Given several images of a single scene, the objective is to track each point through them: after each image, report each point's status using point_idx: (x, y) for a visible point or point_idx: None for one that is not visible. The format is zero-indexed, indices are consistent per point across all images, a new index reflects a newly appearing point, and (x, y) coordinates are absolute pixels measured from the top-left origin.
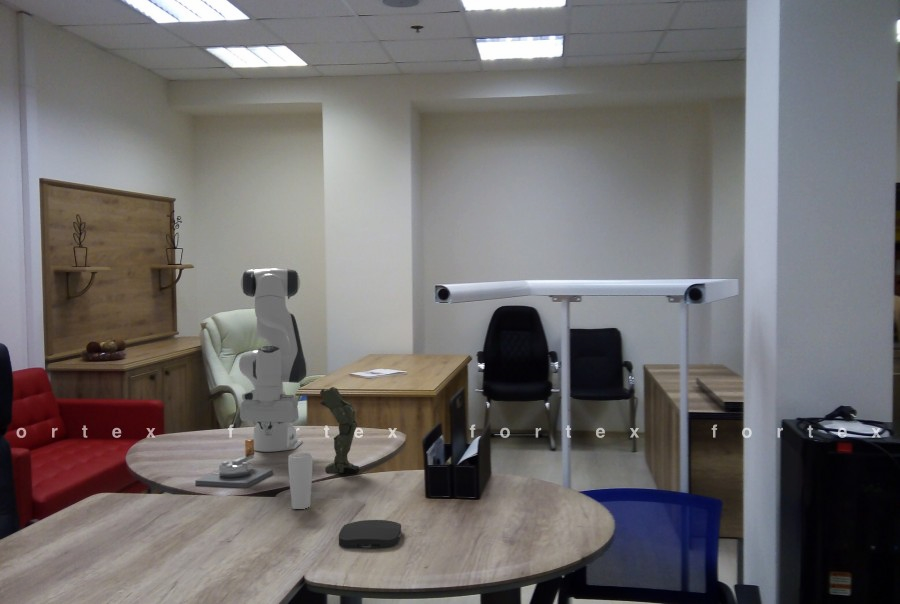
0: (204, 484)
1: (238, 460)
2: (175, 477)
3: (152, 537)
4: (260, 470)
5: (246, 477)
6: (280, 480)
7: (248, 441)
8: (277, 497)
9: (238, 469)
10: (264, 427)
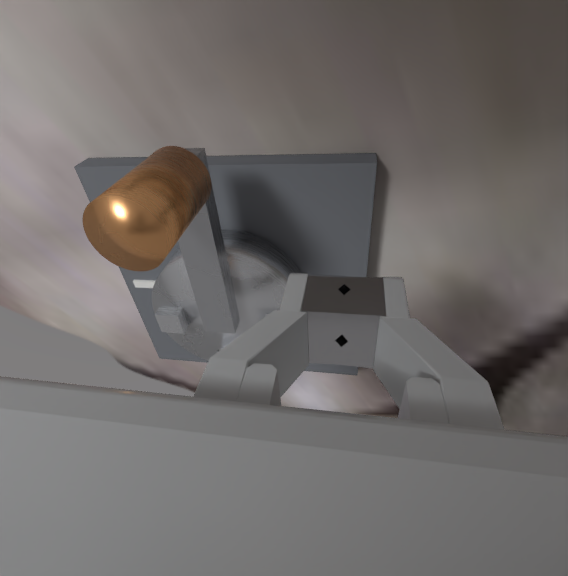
0: None
1: (226, 320)
2: (10, 274)
3: None
4: (310, 198)
5: None
6: (465, 266)
7: (150, 268)
8: (507, 429)
9: None
10: (283, 392)
